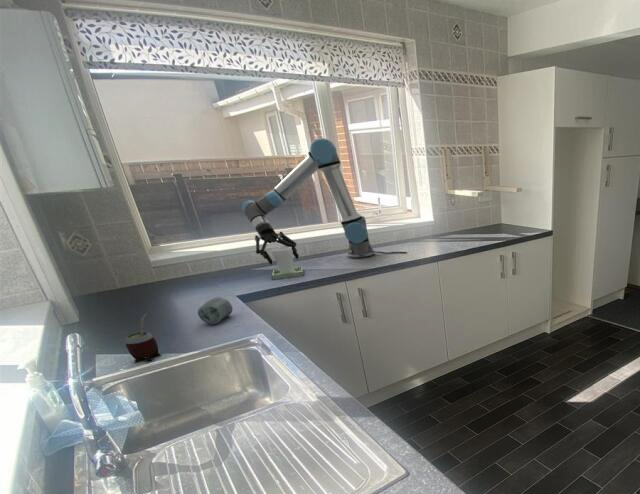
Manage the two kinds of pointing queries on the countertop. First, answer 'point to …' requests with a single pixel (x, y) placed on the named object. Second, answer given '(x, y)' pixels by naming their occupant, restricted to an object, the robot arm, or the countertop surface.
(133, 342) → the mate gourd
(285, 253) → the foam cup
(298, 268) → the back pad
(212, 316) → the grey rolled towel
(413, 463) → the countertop surface
